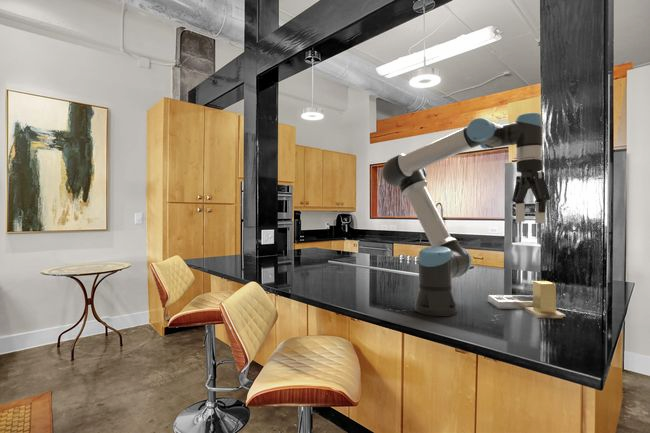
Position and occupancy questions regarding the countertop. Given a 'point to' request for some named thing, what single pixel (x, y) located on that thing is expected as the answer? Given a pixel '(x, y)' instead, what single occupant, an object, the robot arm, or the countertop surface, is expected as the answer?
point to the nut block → (544, 296)
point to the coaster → (544, 315)
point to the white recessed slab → (511, 301)
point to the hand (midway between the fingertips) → (529, 222)
